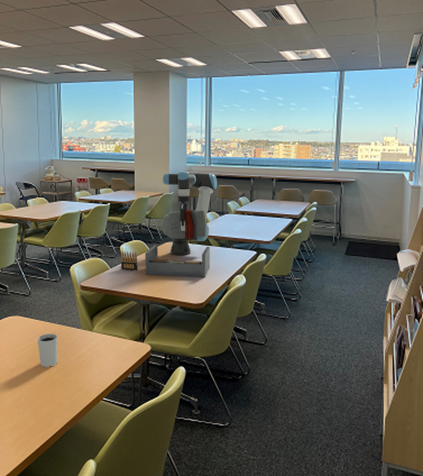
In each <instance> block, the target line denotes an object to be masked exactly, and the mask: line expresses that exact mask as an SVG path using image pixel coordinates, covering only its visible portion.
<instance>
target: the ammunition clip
mask: <svg viewBox="0 0 423 476" xmlns="http://www.w3.org/2000/svg"><path fill="white" fill-rule="evenodd" d="M137 257H138V256H137V252H135V251H129V252H128V251H121V259H120V260H121V263H120V264H121V265H120V270H121V269H127V270H126V271H134V270H136V272H137V271H138V270H139V269H138V258H137Z"/></svg>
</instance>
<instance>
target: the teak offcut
mask: <svg viewBox="0 0 423 476" xmlns="http://www.w3.org/2000/svg"><path fill="white" fill-rule="evenodd" d="M201 262H202V260H201V261H200V260H186V263H193V264H201Z"/></svg>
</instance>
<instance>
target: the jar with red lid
mask: <svg viewBox="0 0 423 476" xmlns="http://www.w3.org/2000/svg"><path fill="white" fill-rule="evenodd" d="M206 223H207V218H206V216H205V210H196V209H187V210H186V211H185V231H181V221H180V210H178V211H177V210H175V211H171V212H168V213H167V214H166V215H164V217H163V218H162V221H161V229H162V231H163V234H165V235H166V236H167V237H168V238H170V239H173V238H175V239H179V238H186V239H193V238H196V237H205V236H206Z"/></svg>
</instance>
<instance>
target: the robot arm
mask: <svg viewBox="0 0 423 476" xmlns="http://www.w3.org/2000/svg"><path fill="white" fill-rule="evenodd" d="M162 183H163V184H164V185H166V186H169V185H171V186H177V193H178V195H177V196H178V197H177V200H178V201H177V202H181V203H180V205H179V208H180V209H179V211H180V221H181V231H185V211H186V210H188V203H187V202H190V200H191V199H190V190H191V189H198V191H199V193H198V199H197V203H196V204H197V205H196V208H195V210H205V216H206V219H207V216H208V211H209V206H210V200H211V194H213V193H214V190H216V189H217V188H218V181H217V176H216V175H215V174H213V173H201V172H199V173H198V172H197V173H190V172H189V171H179V172H178V173H164V174H163V176H162ZM190 188H191V189H190ZM209 233H210V227H209V225H208V223H207V222H206V236H205V237H196V238H193V239H186V238H179V239H175V238H172V245H171V247H170V254H171V255H174V256H188V255H190V254H191V251H192V250H191V248H190V247H191V246H190V244H189V241H192V242H193V241H197V242H204V241H206V240H207V239H208V237H209Z"/></svg>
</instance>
